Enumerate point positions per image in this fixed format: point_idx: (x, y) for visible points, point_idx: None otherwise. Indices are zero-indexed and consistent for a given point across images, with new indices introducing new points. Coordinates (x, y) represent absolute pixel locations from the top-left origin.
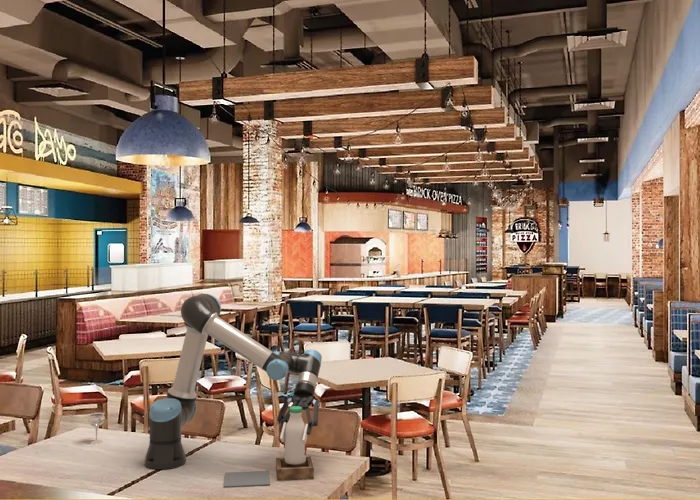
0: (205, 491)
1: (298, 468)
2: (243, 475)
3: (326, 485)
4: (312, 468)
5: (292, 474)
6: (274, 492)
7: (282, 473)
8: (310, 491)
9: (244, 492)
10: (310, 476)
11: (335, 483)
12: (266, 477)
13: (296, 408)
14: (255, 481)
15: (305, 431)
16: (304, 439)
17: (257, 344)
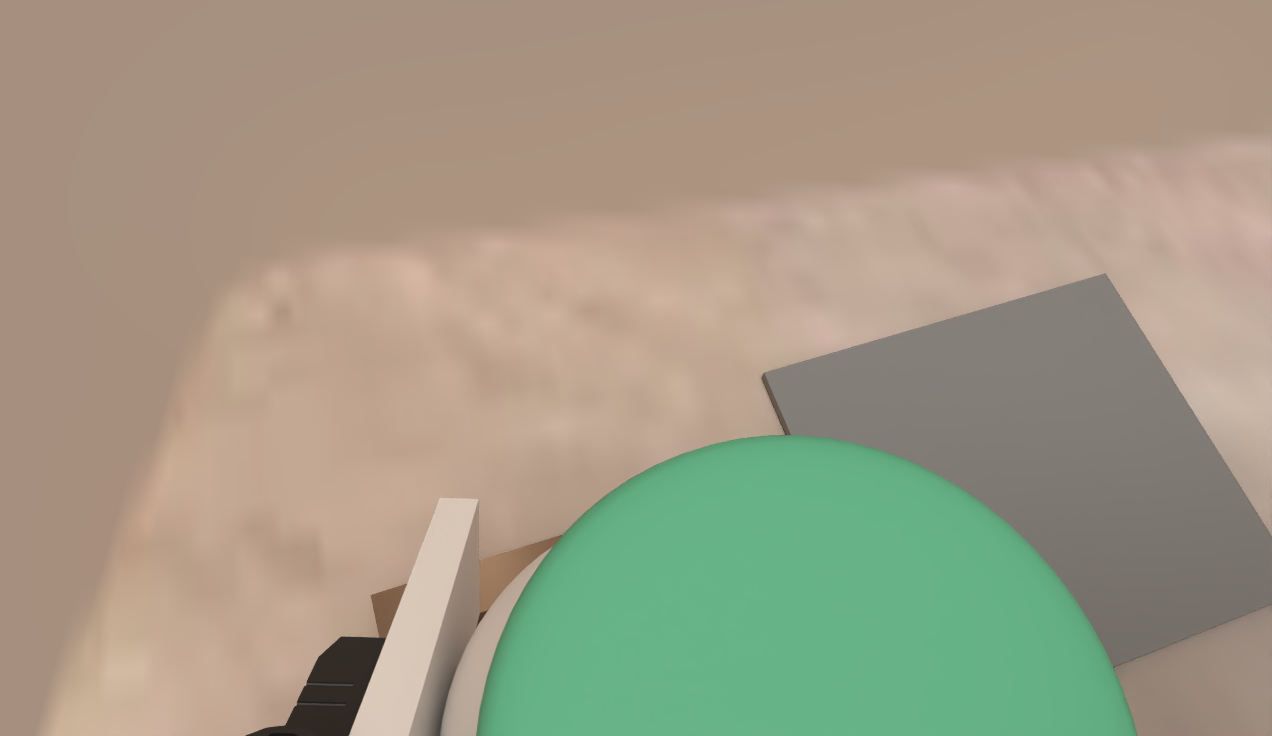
0: (1175, 200)
1: (546, 540)
2: (1096, 542)
3: (249, 464)
4: (386, 592)
5: None
6: (675, 249)
7: None
8: (385, 308)
9: (898, 219)
10: None
11: (157, 531)
12: None
13: (716, 510)
14: (914, 410)
15: (416, 604)
16: (437, 508)
17: None
